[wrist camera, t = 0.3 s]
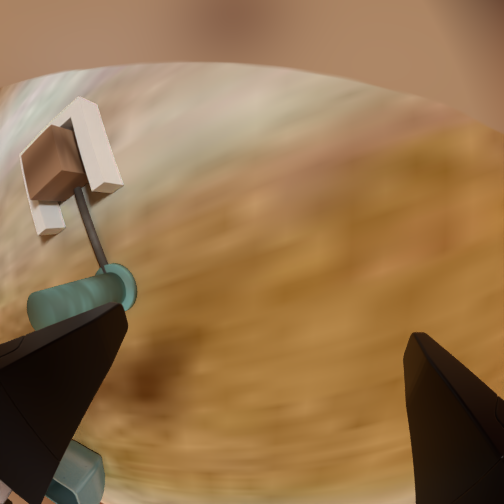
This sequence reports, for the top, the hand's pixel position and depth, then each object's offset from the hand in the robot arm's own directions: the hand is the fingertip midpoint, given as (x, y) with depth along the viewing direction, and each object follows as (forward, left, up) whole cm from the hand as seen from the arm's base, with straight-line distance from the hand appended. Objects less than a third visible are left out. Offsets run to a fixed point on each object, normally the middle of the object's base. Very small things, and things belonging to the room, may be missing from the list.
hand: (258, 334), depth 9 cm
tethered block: (-11, +15, -15) cm, 24 cm away
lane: (-9, +21, -15) cm, 28 cm away
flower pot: (-39, -3, -15) cm, 42 cm away
